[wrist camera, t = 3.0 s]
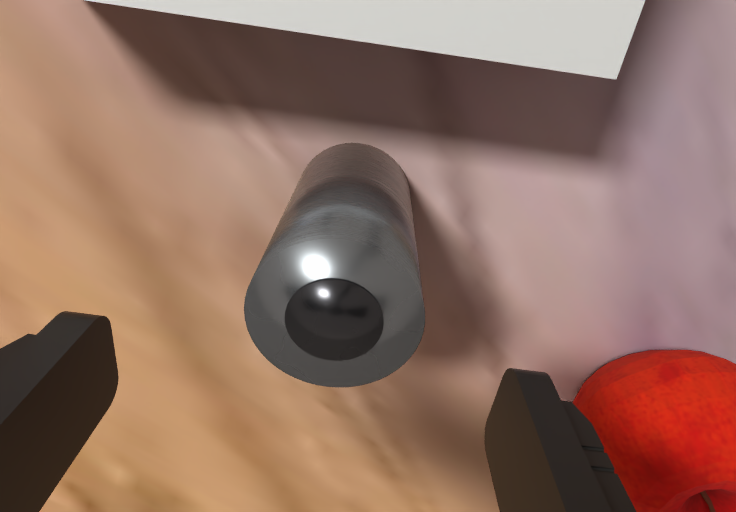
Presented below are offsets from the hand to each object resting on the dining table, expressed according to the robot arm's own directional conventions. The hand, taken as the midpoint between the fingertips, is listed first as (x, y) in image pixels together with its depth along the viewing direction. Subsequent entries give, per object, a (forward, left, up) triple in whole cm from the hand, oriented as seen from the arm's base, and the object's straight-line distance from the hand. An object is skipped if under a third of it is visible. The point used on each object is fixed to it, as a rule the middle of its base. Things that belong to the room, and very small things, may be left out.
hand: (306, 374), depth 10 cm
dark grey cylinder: (0, 0, -10) cm, 10 cm away
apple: (-14, +7, -10) cm, 19 cm away
